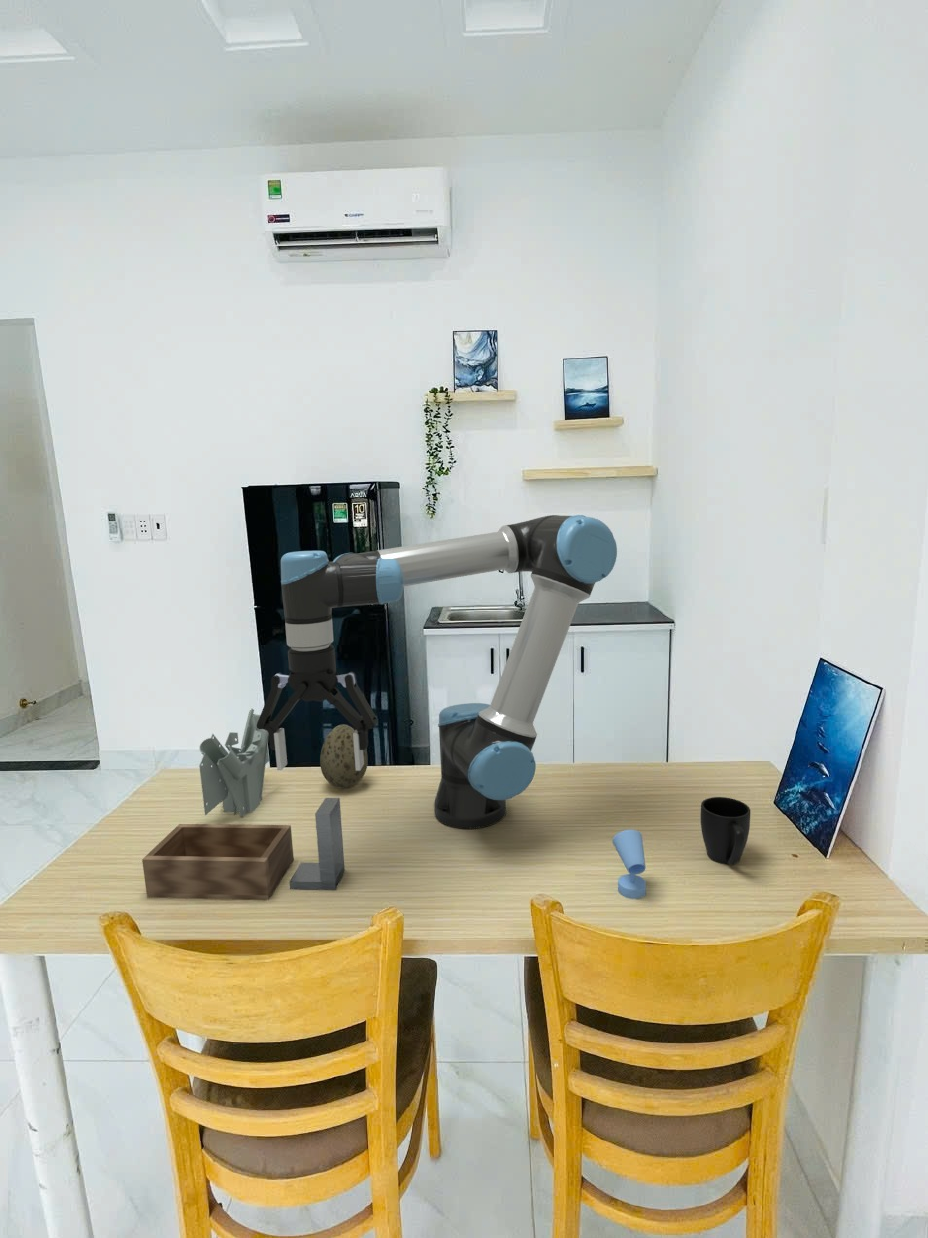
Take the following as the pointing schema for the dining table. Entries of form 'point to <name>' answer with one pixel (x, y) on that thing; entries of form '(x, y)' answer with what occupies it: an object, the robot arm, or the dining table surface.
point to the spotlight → (631, 863)
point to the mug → (725, 828)
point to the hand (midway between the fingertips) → (320, 767)
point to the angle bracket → (324, 852)
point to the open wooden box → (219, 861)
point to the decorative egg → (341, 758)
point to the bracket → (235, 769)
